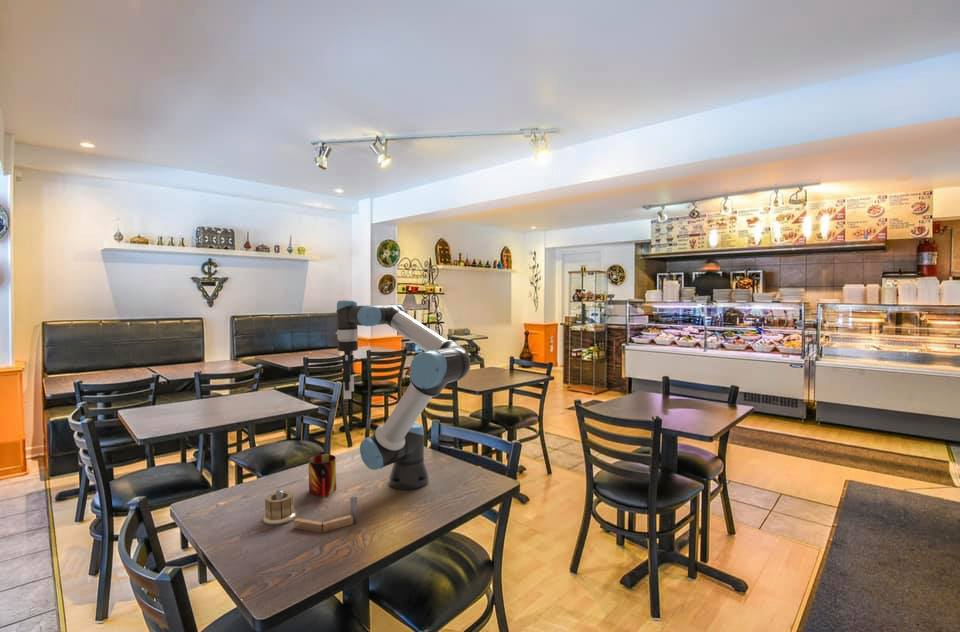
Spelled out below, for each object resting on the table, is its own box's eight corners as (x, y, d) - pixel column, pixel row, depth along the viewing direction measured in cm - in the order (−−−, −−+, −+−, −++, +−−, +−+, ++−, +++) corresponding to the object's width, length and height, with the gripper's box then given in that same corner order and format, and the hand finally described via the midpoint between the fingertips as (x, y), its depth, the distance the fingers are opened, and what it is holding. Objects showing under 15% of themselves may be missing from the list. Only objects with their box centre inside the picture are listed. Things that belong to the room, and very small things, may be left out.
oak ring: (295, 507, 160) (294, 490, 160) (289, 519, 152) (288, 500, 152) (270, 509, 159) (270, 492, 158) (263, 521, 151) (262, 502, 151)
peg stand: (299, 509, 161) (298, 483, 161) (292, 524, 151) (291, 496, 151) (268, 511, 160) (267, 485, 159) (259, 526, 150) (258, 498, 149)
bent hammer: (357, 520, 153) (357, 496, 153) (355, 529, 147) (355, 504, 147) (295, 525, 150) (294, 500, 150) (290, 534, 145) (289, 509, 144)
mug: (323, 501, 167) (322, 468, 167) (304, 490, 177) (303, 459, 176) (347, 493, 174) (346, 461, 174) (327, 482, 184) (327, 452, 183)
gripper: (340, 337, 193) (342, 389, 194) (333, 344, 169) (335, 402, 170) (359, 337, 195) (360, 388, 196) (355, 343, 170) (356, 401, 171)
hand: (349, 395), depth 183 cm, fingers open, 13 cm apart
